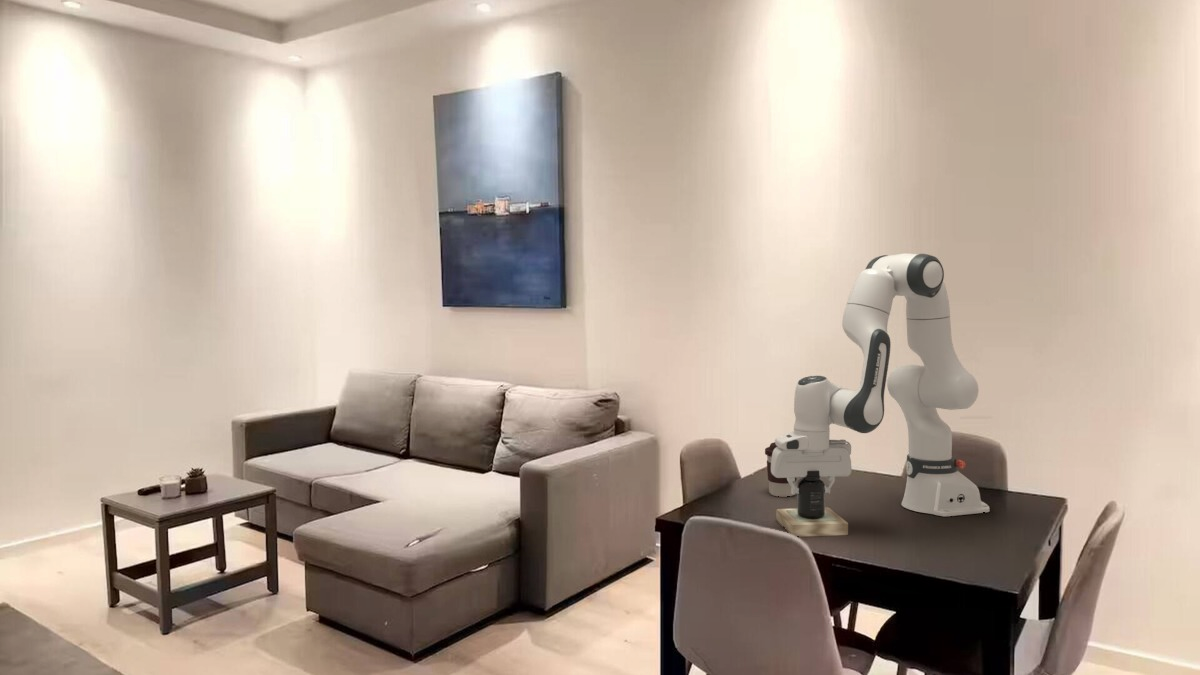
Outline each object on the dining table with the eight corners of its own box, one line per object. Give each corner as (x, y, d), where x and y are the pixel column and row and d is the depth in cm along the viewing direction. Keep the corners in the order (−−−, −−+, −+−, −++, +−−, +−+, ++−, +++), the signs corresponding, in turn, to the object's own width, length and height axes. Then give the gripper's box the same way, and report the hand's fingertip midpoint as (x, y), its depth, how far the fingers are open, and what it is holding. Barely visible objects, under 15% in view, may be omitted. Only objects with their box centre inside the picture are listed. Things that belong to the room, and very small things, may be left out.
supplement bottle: (826, 513, 212) (826, 467, 212) (822, 520, 206) (823, 473, 205) (799, 510, 215) (799, 465, 214) (794, 517, 209) (795, 471, 208)
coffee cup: (758, 494, 244) (758, 444, 242) (778, 488, 250) (778, 439, 249) (786, 500, 236) (786, 449, 235) (806, 494, 243) (806, 443, 242)
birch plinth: (828, 518, 219) (828, 506, 218) (847, 534, 205) (848, 522, 204) (776, 520, 218) (776, 508, 217) (792, 536, 204) (792, 524, 203)
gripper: (846, 436, 213) (845, 489, 214) (769, 438, 212) (768, 491, 213) (856, 441, 207) (855, 495, 208) (776, 443, 205) (775, 497, 207)
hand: (810, 493), depth 210 cm, fingers closed on supplement bottle, 7 cm apart
